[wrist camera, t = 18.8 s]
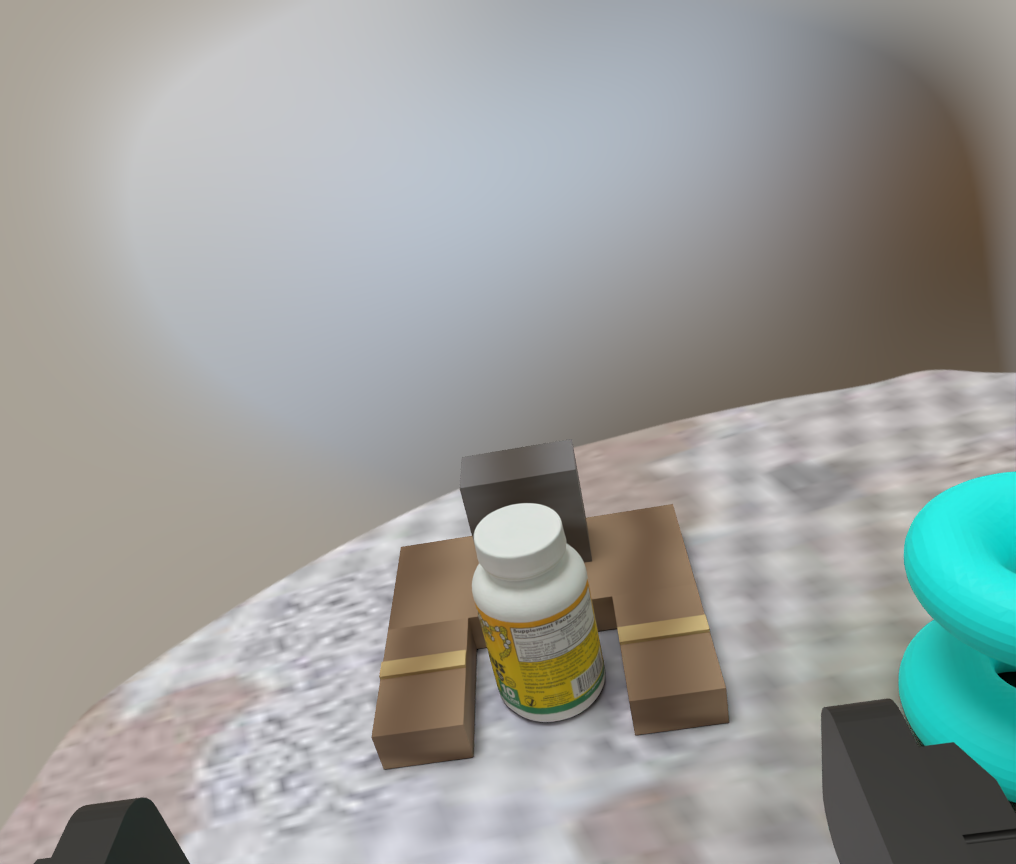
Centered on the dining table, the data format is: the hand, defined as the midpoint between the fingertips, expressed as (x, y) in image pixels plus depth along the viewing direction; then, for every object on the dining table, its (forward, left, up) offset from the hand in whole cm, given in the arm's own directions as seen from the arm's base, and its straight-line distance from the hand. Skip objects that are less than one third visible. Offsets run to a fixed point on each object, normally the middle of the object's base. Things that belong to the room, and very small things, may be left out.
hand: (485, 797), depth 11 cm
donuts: (-18, -19, -24) cm, 36 cm away
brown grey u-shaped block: (+2, -28, -24) cm, 37 cm away
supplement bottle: (+2, -25, -24) cm, 35 cm away
